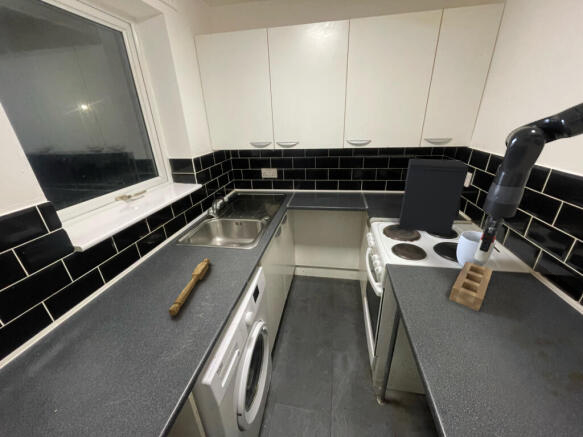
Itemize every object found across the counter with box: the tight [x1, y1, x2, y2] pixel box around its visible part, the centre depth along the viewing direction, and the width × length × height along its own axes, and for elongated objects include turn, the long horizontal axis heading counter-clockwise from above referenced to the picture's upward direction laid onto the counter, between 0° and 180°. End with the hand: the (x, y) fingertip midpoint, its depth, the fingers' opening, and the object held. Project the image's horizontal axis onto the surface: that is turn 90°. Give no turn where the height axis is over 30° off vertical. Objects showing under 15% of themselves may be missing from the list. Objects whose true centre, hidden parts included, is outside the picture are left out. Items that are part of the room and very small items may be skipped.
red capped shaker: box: [474, 232, 497, 263], centre depth 75 cm, size 3×3×9 cm
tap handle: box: [167, 258, 211, 316], centre depth 89 cm, size 3×3×30 cm
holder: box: [448, 261, 493, 312], centre depth 81 cm, size 8×20×5 cm, turn 135°
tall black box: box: [398, 157, 469, 236], centre depth 122 cm, size 28×20×35 cm
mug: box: [456, 230, 497, 267], centre depth 93 cm, size 15×11×13 cm
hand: (484, 248), depth 75 cm, fingers closed on red capped shaker, 3 cm apart
